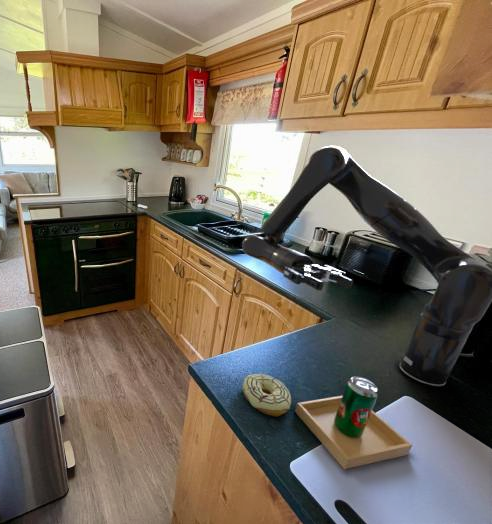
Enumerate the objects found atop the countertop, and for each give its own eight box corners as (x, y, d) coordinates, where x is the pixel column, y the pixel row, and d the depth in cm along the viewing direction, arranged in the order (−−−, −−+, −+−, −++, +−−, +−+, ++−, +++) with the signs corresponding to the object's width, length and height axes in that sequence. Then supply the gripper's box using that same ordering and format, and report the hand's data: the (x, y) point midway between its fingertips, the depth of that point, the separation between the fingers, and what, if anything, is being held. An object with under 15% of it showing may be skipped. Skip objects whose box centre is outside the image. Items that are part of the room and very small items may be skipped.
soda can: (334, 414, 64) (350, 371, 60) (362, 427, 61) (380, 383, 57) (331, 429, 61) (347, 384, 57) (360, 444, 58) (379, 398, 54)
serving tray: (349, 402, 69) (352, 393, 68) (408, 454, 57) (412, 445, 56) (294, 411, 66) (297, 402, 65) (344, 469, 54) (348, 459, 53)
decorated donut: (250, 418, 63) (253, 405, 62) (235, 382, 74) (237, 370, 72) (297, 419, 64) (301, 406, 62) (276, 383, 74) (279, 371, 72)
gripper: (271, 251, 81) (315, 272, 66) (314, 249, 84) (365, 270, 69) (266, 276, 84) (307, 301, 69) (308, 273, 87) (356, 297, 72)
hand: (336, 285), depth 69 cm, fingers open, 8 cm apart
